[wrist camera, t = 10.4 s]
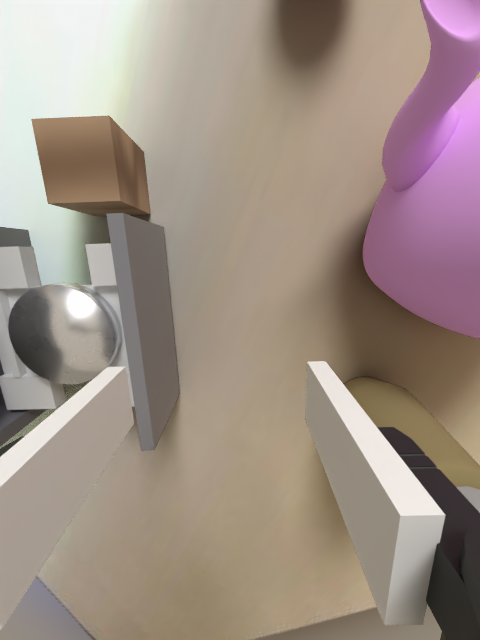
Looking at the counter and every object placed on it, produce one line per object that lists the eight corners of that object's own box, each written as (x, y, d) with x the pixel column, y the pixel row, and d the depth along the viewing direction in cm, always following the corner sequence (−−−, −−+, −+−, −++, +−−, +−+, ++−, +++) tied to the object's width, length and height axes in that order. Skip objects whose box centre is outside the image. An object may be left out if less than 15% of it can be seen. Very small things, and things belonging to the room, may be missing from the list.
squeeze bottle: (412, 407, 28) (688, 656, 11) (347, 445, 29) (502, 723, 12) (374, 351, 27) (626, 535, 9) (308, 393, 28) (419, 627, 10)
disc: (113, 280, 20) (103, 282, 19) (129, 373, 22) (121, 382, 21) (14, 285, 21) (-5, 287, 19) (38, 377, 23) (23, 386, 21)
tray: (10, 232, 24) (-108, 221, 16) (163, 227, 23) (122, 212, 15) (49, 396, 28) (-29, 454, 20) (179, 393, 27) (154, 450, 19)
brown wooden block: (86, 154, 22) (31, 119, 17) (143, 151, 22) (109, 115, 17) (95, 216, 24) (48, 203, 18) (150, 214, 24) (120, 200, 18)
